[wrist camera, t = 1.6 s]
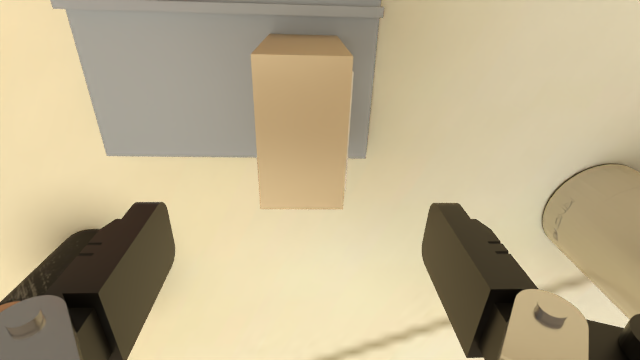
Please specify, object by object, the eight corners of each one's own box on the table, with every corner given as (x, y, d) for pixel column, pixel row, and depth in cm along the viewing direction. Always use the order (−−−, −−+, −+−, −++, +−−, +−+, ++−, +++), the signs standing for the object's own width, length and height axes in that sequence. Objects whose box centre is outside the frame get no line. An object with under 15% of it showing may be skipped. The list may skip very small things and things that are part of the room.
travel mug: (69, 286, 35) (-175, 588, 17) (51, 223, 31) (-280, 521, 14) (148, 290, 35) (-7, 585, 18) (139, 229, 32) (-65, 521, 14)
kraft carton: (339, 35, 23) (356, 56, 15) (333, 146, 27) (345, 209, 19) (269, 33, 23) (250, 54, 15) (273, 145, 27) (260, 209, 19)
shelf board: (388, -131, 21) (403, -153, 17) (362, 150, 29) (369, 169, 26) (37, -148, 20) (-13, -174, 17) (116, 148, 28) (92, 167, 25)
